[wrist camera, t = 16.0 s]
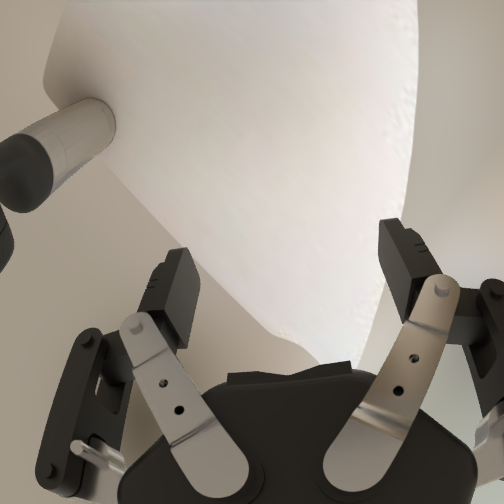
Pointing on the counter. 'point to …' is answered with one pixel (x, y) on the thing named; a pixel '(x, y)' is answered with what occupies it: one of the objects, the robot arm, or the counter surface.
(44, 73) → the counter surface
